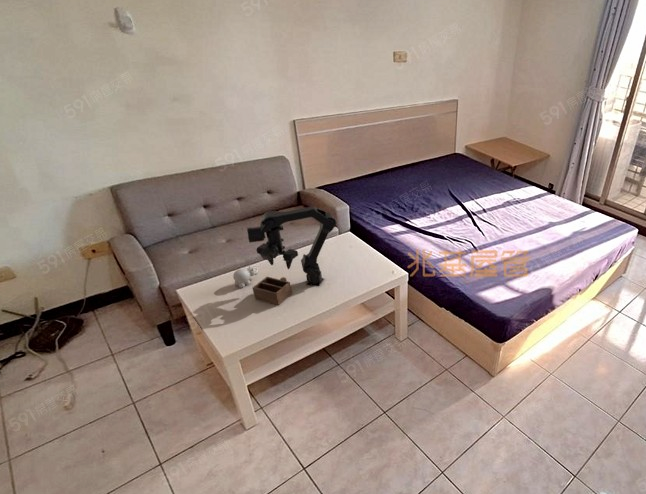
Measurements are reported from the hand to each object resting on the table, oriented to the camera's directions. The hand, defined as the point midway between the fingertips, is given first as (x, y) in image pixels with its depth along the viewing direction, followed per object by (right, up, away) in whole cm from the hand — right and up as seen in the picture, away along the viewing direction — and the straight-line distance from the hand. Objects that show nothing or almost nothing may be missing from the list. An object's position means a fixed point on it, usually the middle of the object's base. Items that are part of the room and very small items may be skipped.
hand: (280, 266), depth 197 cm
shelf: (-2, -13, +2) cm, 13 cm away
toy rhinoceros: (-20, -8, +9) cm, 23 cm away
